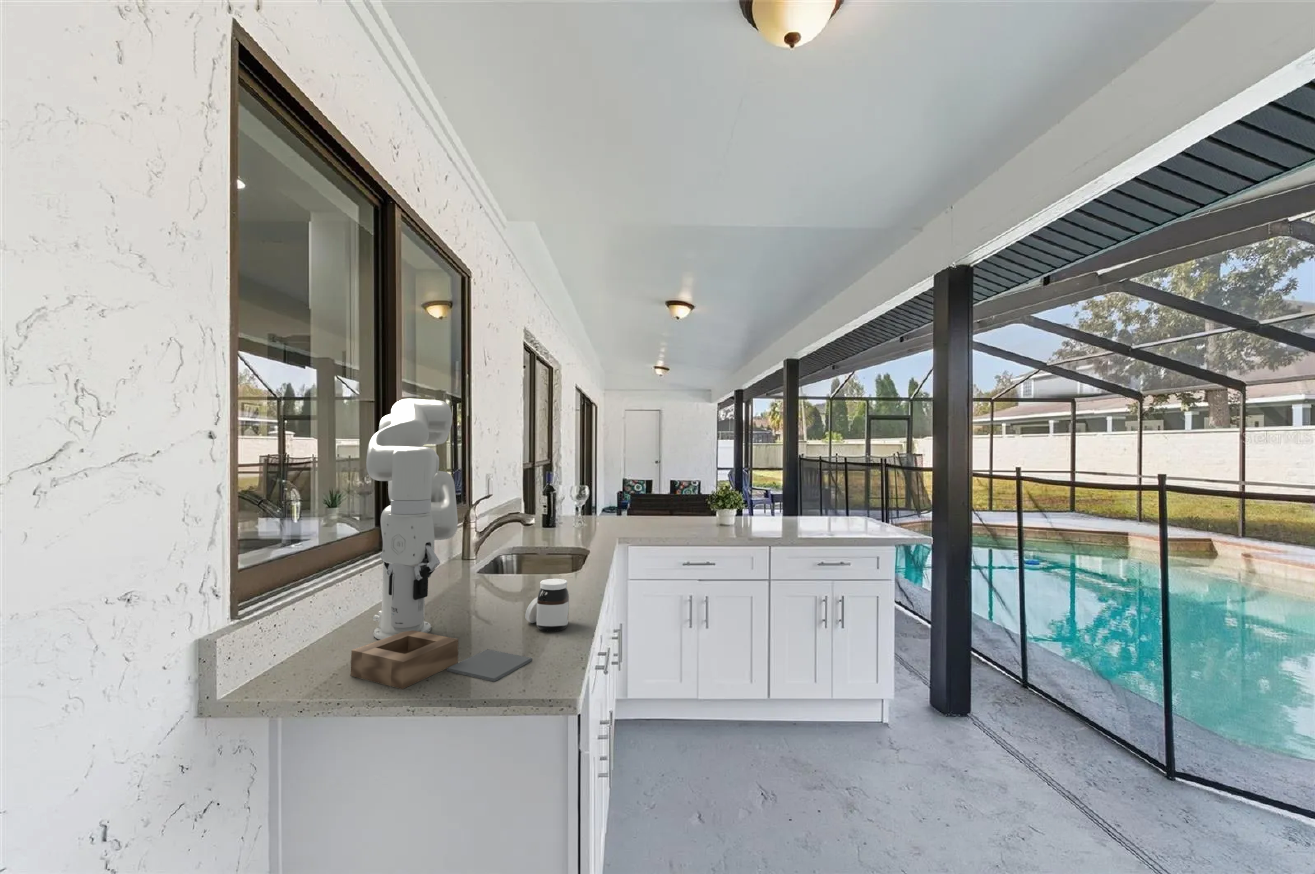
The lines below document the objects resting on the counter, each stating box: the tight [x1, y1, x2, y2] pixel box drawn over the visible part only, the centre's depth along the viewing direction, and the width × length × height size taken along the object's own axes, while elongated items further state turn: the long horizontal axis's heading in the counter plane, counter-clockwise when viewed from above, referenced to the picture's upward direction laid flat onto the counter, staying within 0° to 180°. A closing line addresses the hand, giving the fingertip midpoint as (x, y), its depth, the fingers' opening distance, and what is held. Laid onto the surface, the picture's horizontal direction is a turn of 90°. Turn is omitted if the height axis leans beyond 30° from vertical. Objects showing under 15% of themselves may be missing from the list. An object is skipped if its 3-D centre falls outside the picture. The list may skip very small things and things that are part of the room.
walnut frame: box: [350, 630, 459, 690], centre depth 111 cm, size 14×14×5 cm
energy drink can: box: [391, 561, 425, 632], centre depth 112 cm, size 6×6×15 cm
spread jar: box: [524, 578, 570, 633], centre depth 140 cm, size 12×11×12 cm
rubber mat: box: [446, 648, 533, 682], centre depth 113 cm, size 12×12×1 cm
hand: (408, 595), depth 112 cm, fingers closed on energy drink can, 6 cm apart
